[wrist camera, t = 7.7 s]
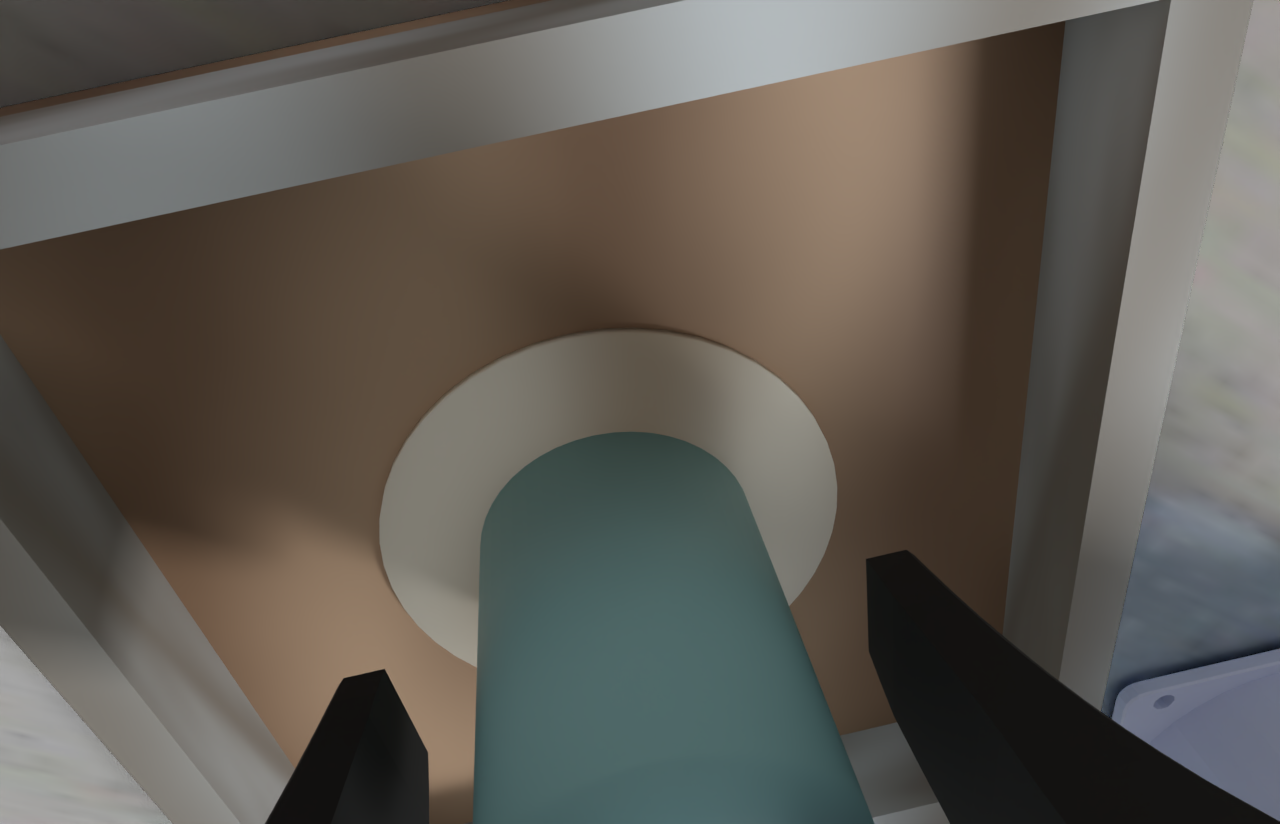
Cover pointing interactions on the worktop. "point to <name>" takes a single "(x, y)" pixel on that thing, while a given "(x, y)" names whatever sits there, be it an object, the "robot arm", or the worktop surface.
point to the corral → (585, 341)
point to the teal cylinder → (644, 652)
